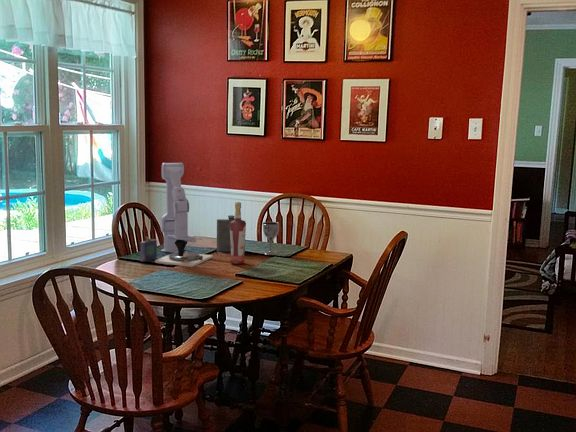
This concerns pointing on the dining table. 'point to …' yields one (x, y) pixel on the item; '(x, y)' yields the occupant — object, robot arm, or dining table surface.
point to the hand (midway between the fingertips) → (181, 256)
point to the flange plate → (190, 256)
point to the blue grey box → (148, 249)
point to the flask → (224, 234)
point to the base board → (181, 263)
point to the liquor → (237, 237)
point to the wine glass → (270, 234)
